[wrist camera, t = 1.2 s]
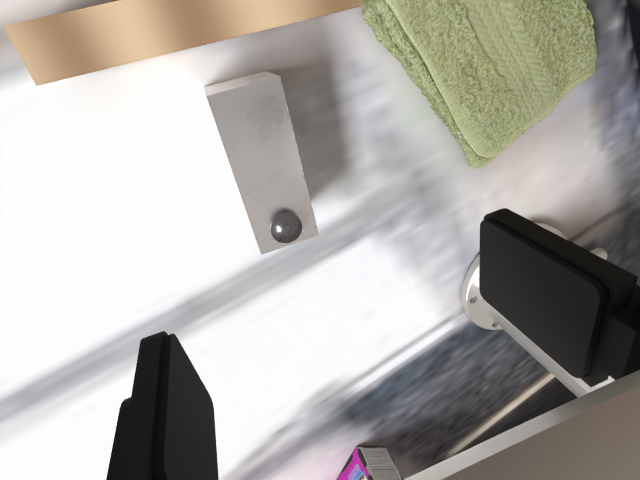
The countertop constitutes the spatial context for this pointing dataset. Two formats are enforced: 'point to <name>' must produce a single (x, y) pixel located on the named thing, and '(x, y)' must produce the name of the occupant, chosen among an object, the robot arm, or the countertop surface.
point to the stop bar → (264, 158)
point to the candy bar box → (370, 465)
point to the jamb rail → (147, 30)
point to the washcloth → (488, 61)
